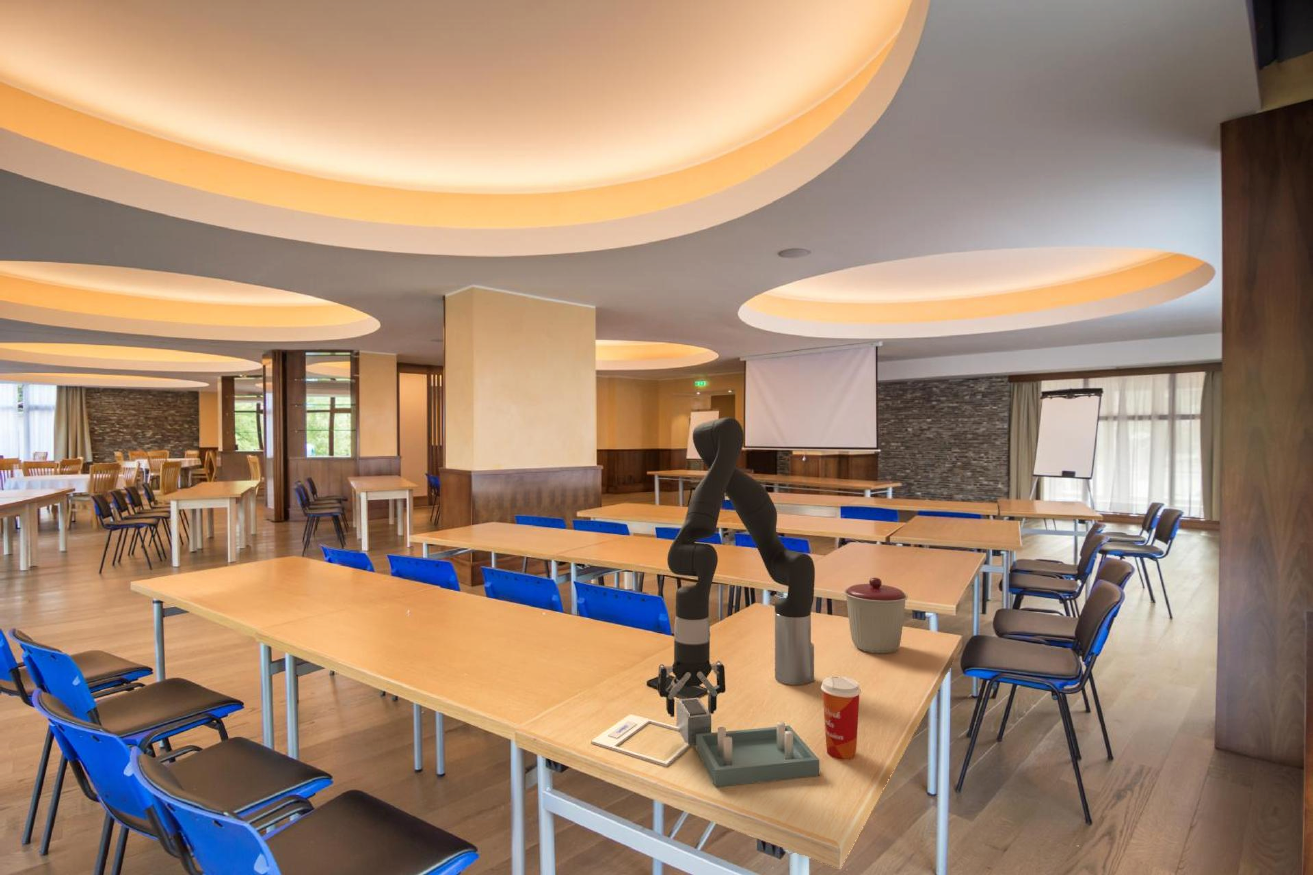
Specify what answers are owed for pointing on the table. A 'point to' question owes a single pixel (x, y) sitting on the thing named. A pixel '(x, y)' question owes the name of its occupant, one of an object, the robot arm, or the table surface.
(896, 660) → the table surface
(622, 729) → the photo frame
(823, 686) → the paper cup
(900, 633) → the canister
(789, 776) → the tray
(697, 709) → the block
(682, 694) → the phone
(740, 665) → the table surface
